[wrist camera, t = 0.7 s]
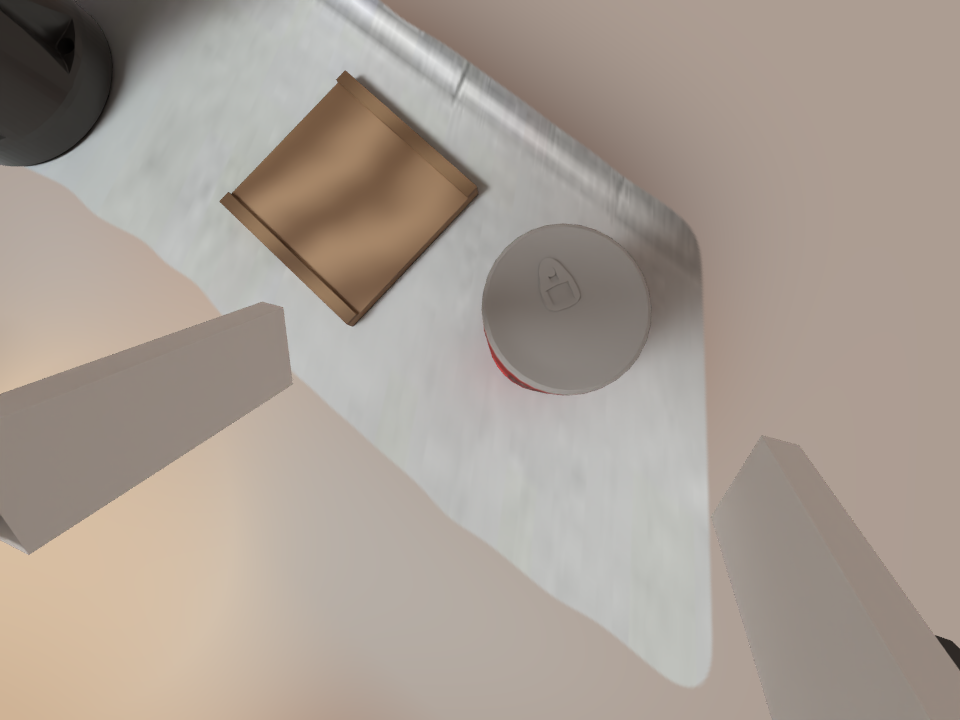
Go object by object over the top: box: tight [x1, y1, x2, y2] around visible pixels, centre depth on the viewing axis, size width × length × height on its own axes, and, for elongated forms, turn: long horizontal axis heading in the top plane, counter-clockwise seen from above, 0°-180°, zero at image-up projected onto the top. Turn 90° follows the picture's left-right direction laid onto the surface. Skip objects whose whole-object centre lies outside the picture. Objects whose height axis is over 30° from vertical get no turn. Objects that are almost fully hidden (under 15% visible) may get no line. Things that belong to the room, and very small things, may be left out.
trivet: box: [219, 71, 478, 327], centre depth 29 cm, size 14×14×1 cm
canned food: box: [482, 224, 651, 395], centre depth 22 cm, size 8×8×11 cm
